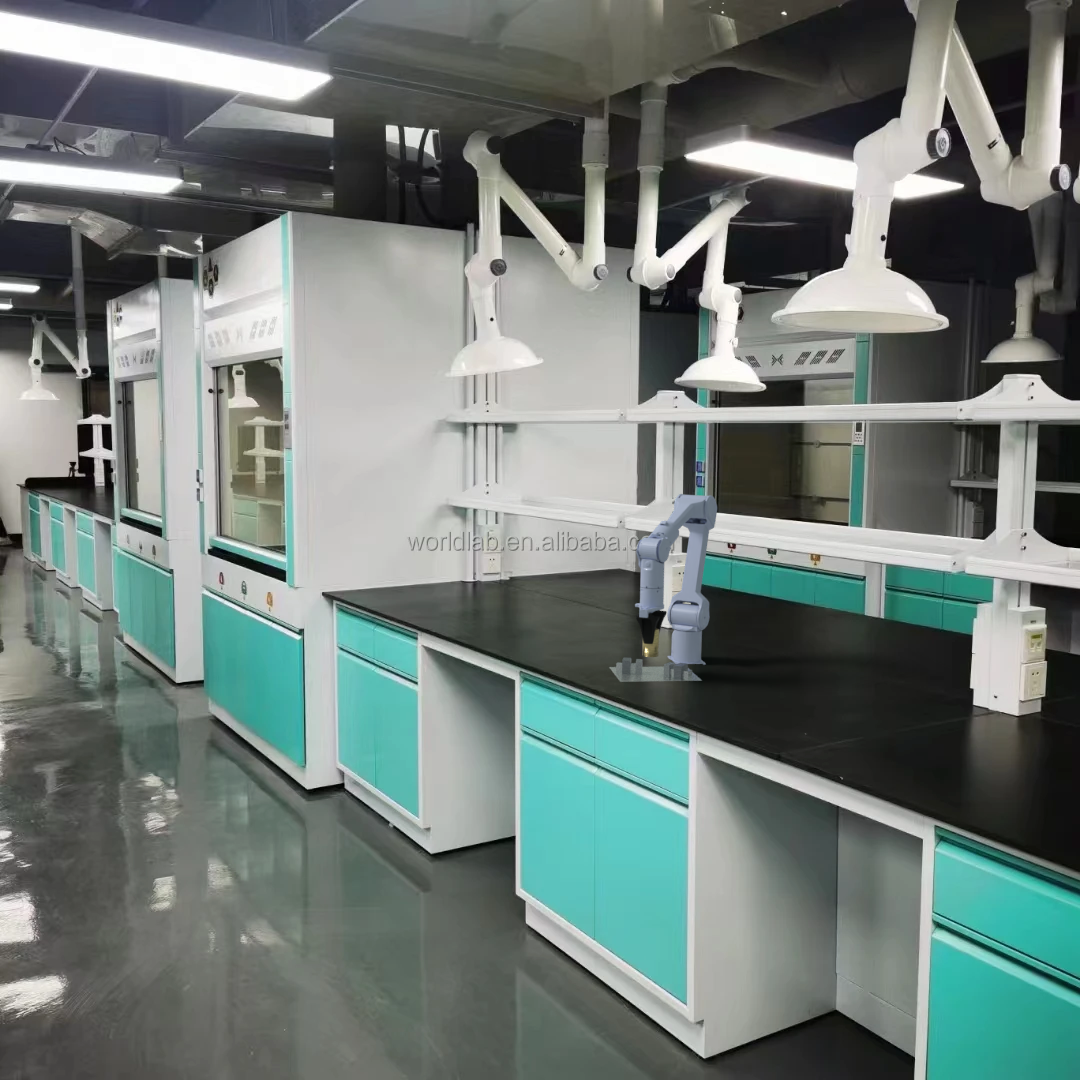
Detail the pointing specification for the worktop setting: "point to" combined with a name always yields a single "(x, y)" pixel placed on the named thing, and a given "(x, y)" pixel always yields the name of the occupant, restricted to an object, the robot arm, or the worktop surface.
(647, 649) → the cylinder
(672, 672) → the shaft rig
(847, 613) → the worktop surface
